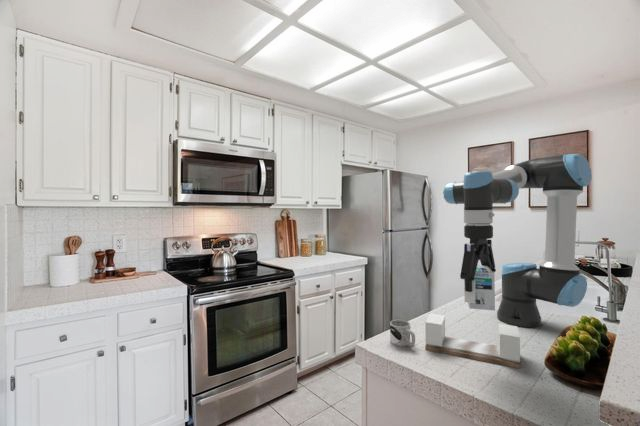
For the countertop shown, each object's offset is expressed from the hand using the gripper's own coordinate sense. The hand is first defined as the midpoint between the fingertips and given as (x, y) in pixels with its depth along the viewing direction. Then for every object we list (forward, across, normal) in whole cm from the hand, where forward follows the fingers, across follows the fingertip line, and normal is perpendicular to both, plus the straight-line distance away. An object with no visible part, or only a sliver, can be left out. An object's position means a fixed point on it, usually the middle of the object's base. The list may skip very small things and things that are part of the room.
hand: (479, 297), depth 92 cm
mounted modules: (+18, +5, +5) cm, 19 cm away
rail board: (+20, +5, +5) cm, 21 cm away
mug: (+20, -6, +22) cm, 30 cm away
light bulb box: (+2, 0, 0) cm, 2 cm away
